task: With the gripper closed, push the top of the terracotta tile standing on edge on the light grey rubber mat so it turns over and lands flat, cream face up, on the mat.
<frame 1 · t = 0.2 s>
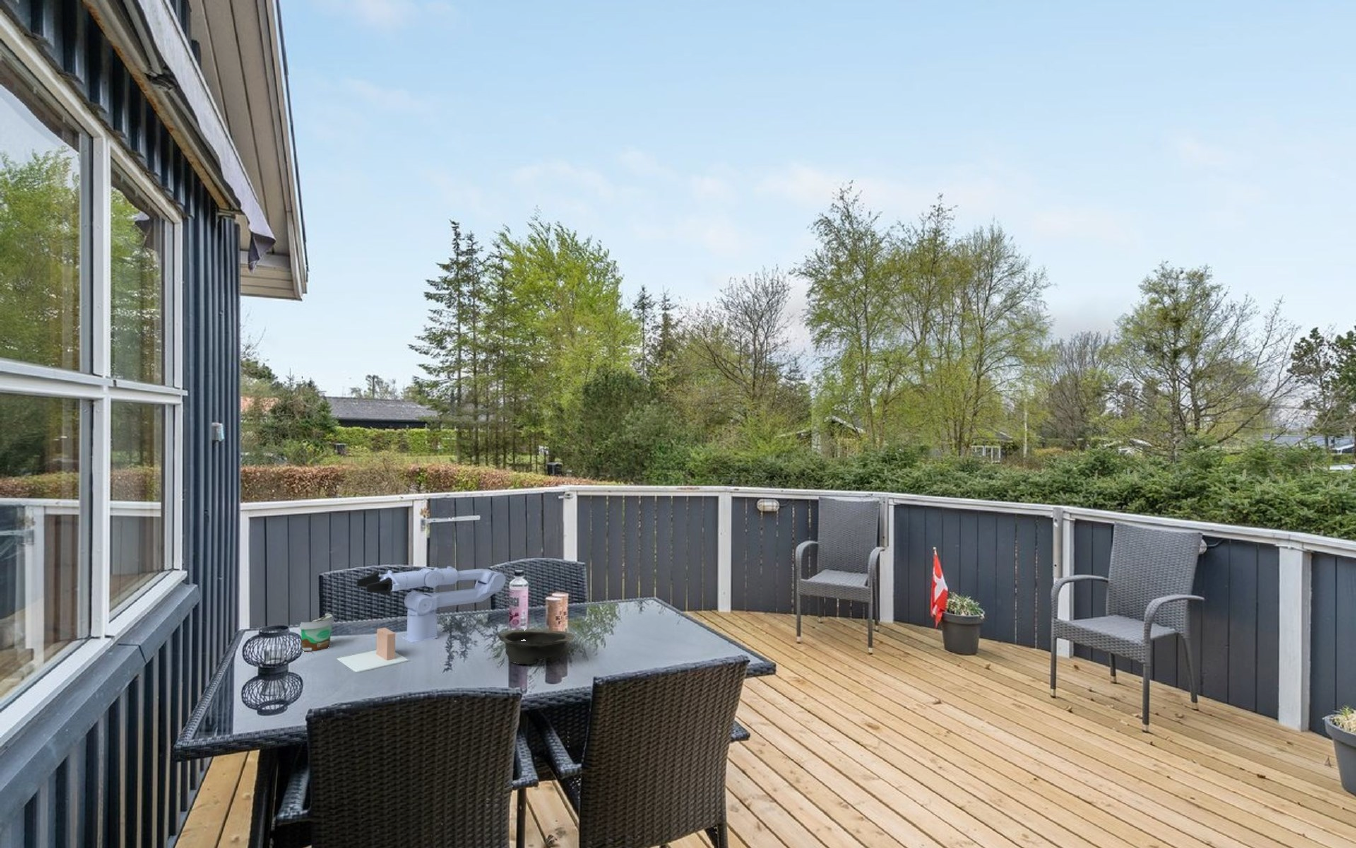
hand: (362, 585, 224), 21 cm above the table, tool horizontal, fingers open, 7 cm apart
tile: (385, 656, 218), resting on mat
stone bowl: (535, 657, 222), on the table
mat: (372, 660, 215), on the table
food container: (320, 649, 225), on the table
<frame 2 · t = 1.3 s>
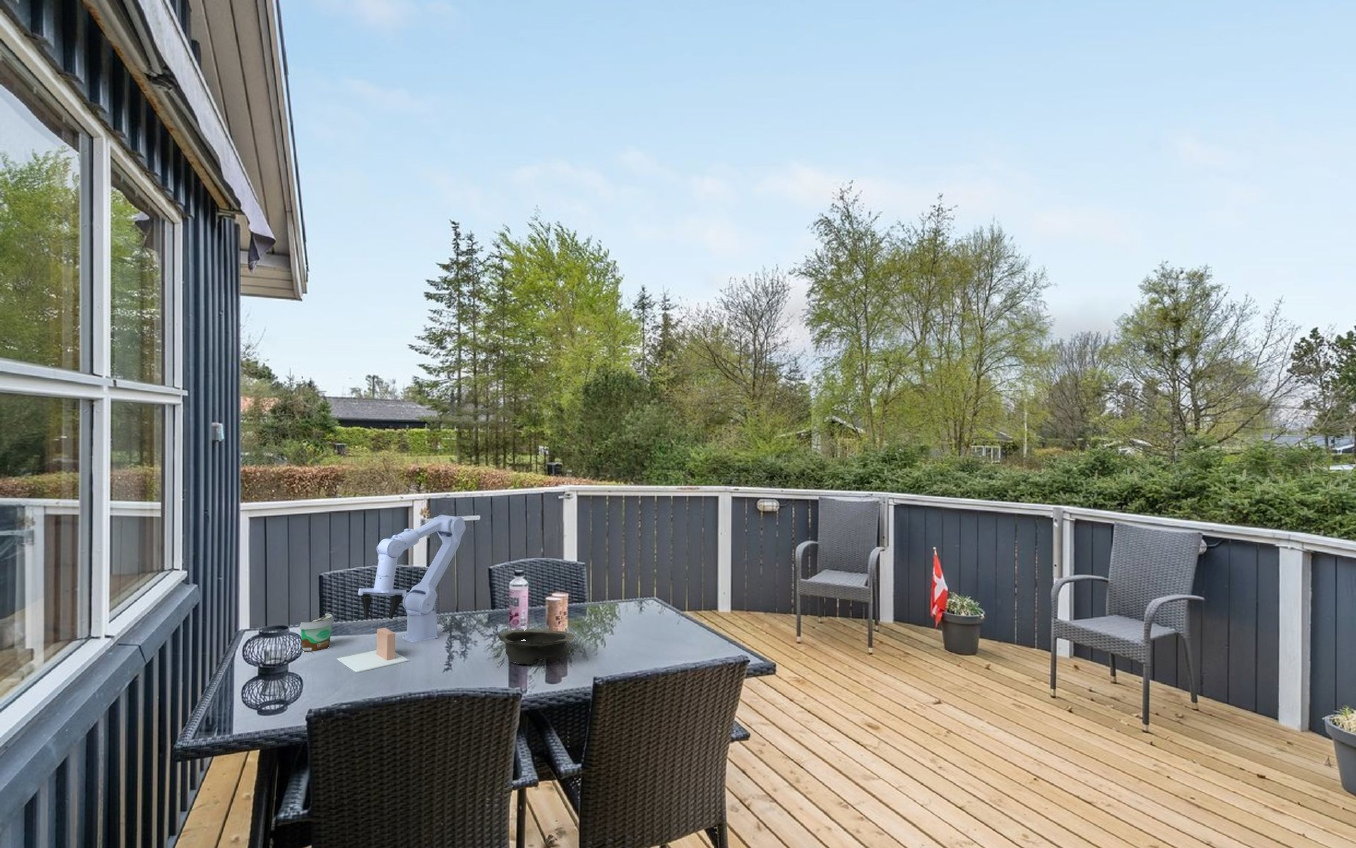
hand: (378, 618, 224), 11 cm above the table, tool pointing down, fingers open, 7 cm apart
nothing on the table moved.
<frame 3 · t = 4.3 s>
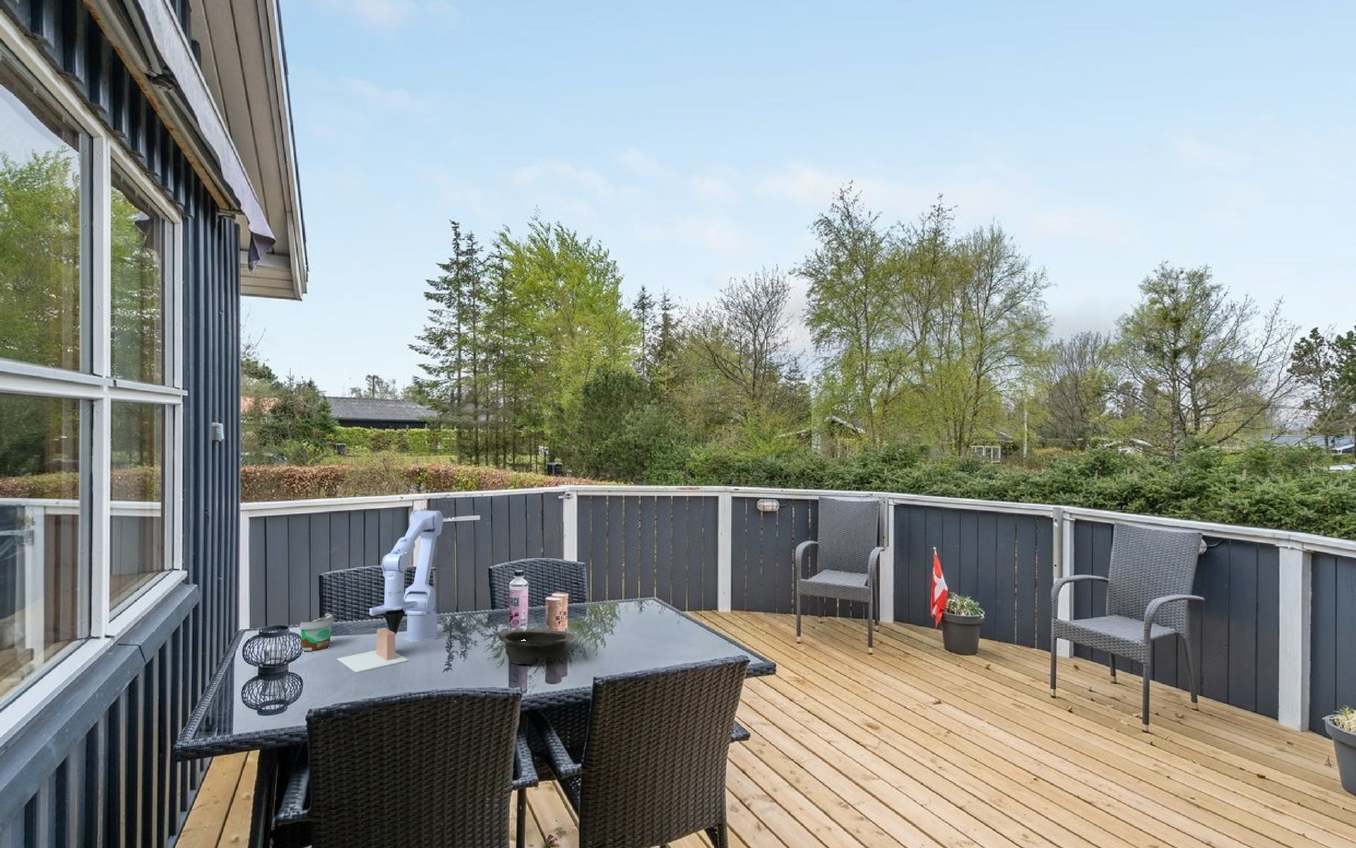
hand: (393, 634, 219), 7 cm above the table, tool pointing down, fingers closed
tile: (385, 656, 218), resting on mat, touching gripper
everything else where it was.
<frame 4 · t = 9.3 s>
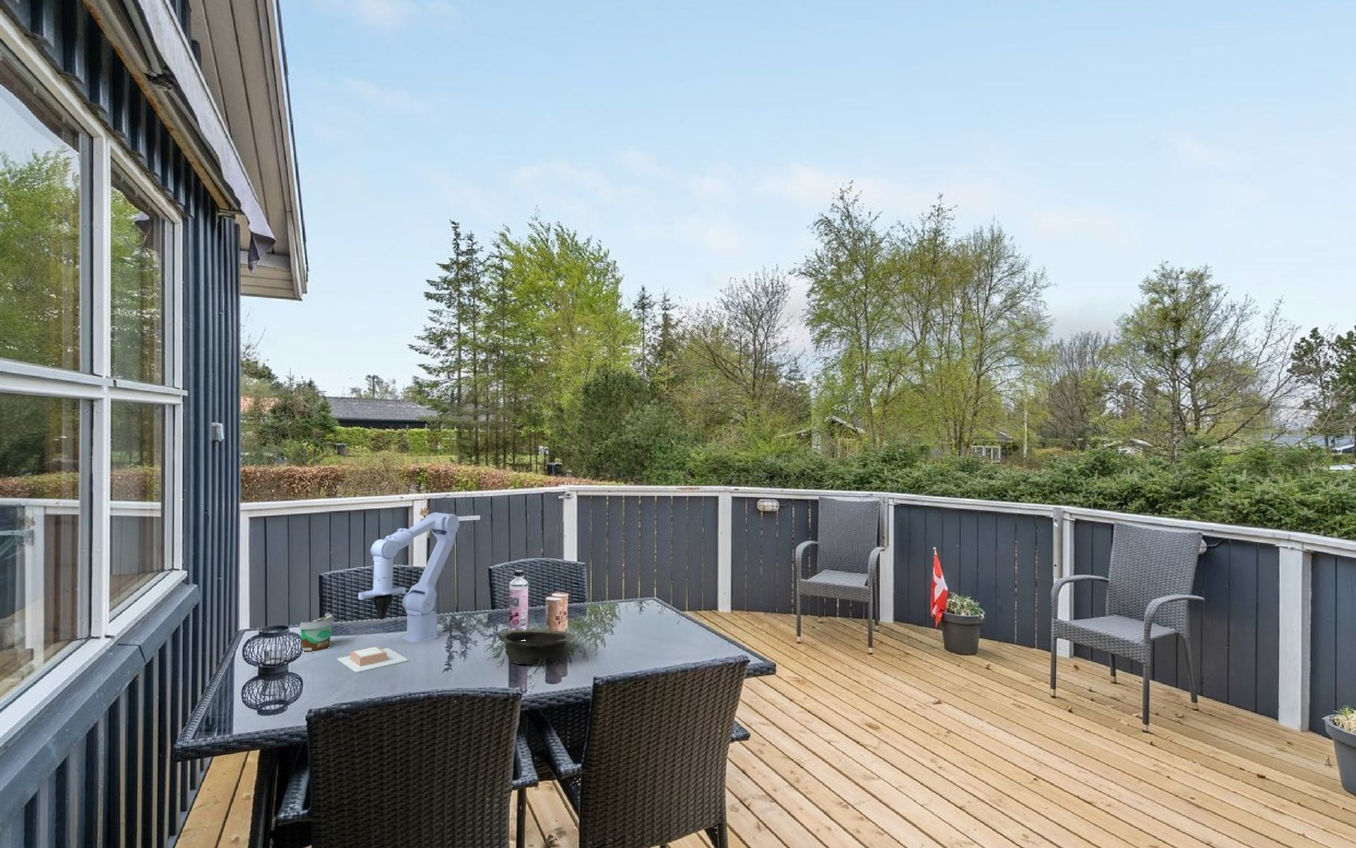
hand: (381, 618, 224), 10 cm above the table, tool pointing down, fingers closed
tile: (381, 653, 217), point 2 cm above the table, tilted 90°, touching mat
everything else where it was.
at the end: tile tilted 90°; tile inside the target area (5.7 cm from its centre), point 1.6 cm above the table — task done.
